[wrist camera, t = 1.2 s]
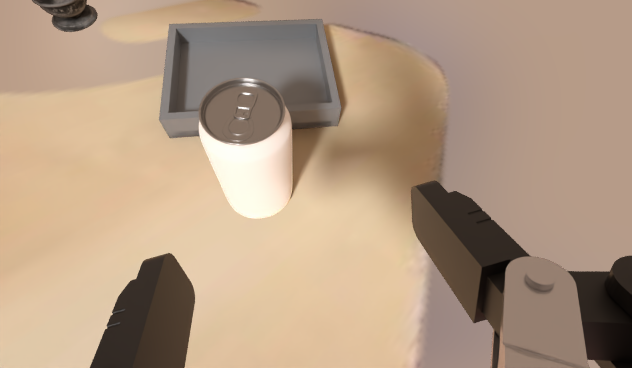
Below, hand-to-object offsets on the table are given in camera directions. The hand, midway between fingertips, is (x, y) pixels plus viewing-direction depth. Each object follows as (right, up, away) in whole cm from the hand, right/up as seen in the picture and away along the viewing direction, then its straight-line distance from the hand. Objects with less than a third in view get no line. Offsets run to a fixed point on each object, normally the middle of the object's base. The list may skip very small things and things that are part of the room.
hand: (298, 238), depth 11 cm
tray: (-7, +14, +27) cm, 31 cm away
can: (-5, +1, +21) cm, 22 cm away
